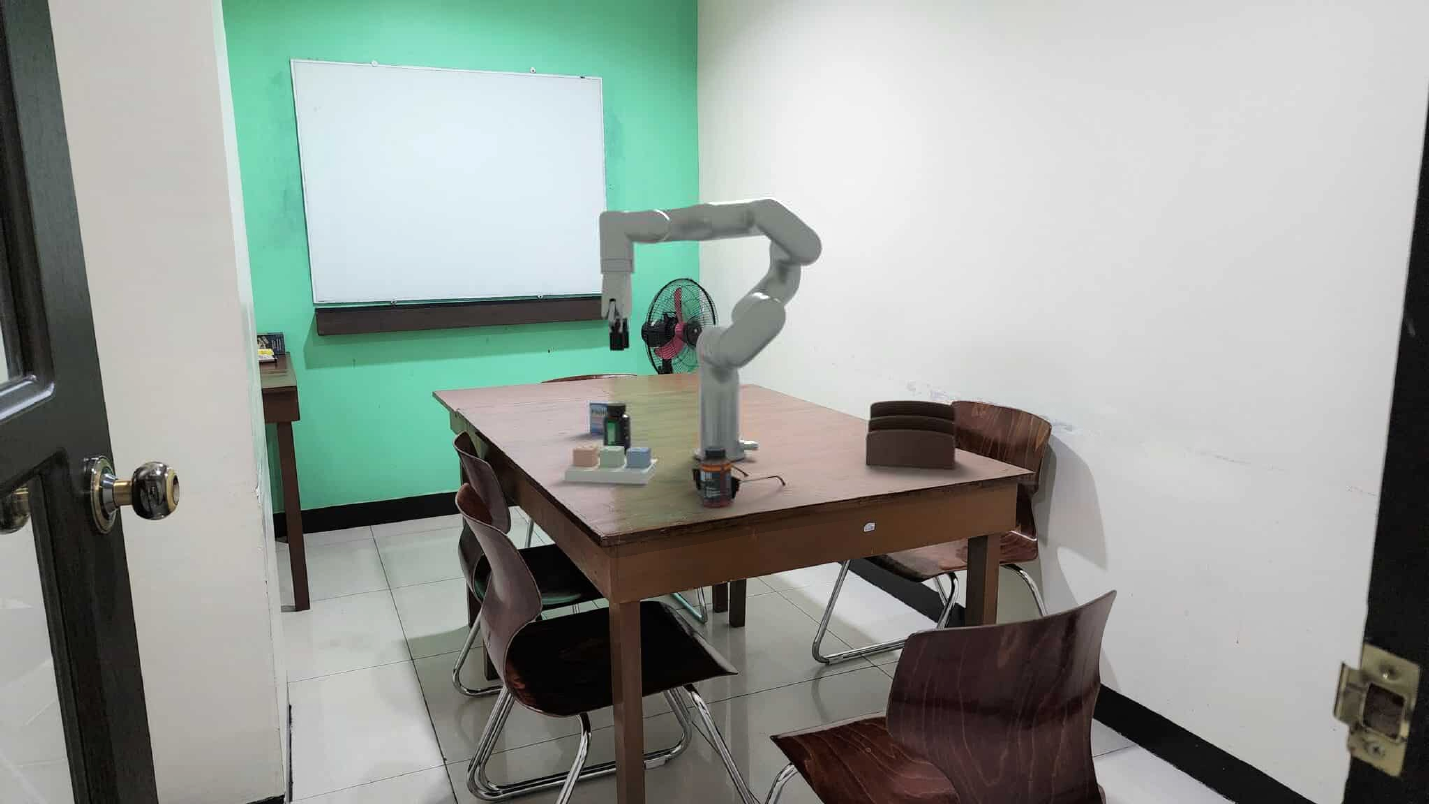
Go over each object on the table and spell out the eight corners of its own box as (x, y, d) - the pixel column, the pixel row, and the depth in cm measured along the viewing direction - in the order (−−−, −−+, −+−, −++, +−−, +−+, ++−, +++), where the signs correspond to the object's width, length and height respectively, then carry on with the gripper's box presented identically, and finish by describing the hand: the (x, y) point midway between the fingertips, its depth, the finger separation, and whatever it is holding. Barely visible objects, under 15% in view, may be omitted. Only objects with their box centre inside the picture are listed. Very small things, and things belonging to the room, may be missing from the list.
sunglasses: (690, 490, 180) (691, 467, 180) (742, 480, 192) (743, 458, 191) (738, 503, 171) (739, 478, 170) (790, 491, 182) (791, 468, 181)
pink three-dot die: (598, 463, 194) (597, 444, 193) (592, 468, 189) (592, 449, 189) (579, 462, 194) (578, 444, 193) (573, 467, 190) (572, 448, 189)
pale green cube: (624, 463, 193) (624, 445, 192) (619, 468, 188) (619, 449, 188) (605, 463, 193) (604, 445, 193) (599, 468, 189) (599, 449, 188)
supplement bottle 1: (613, 456, 210) (612, 407, 208) (598, 451, 215) (596, 404, 213) (636, 452, 214) (635, 404, 212) (621, 447, 219) (620, 400, 217)
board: (658, 470, 196) (658, 459, 195) (646, 484, 184) (646, 472, 184) (581, 467, 198) (581, 457, 198) (564, 481, 187) (564, 470, 186)
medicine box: (589, 434, 236) (588, 402, 235) (596, 430, 240) (595, 400, 239) (616, 435, 234) (615, 404, 232) (622, 432, 238) (621, 401, 237)
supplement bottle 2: (730, 499, 172) (730, 444, 170) (732, 508, 166) (732, 450, 164) (700, 500, 172) (700, 444, 170) (701, 508, 166) (700, 451, 164)
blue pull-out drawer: (650, 464, 192) (650, 446, 191) (646, 469, 187) (646, 450, 187) (631, 464, 192) (631, 445, 192) (626, 468, 188) (626, 450, 187)
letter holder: (869, 456, 209) (870, 398, 206) (954, 460, 203) (956, 401, 201) (865, 465, 199) (866, 405, 197) (954, 470, 194) (956, 408, 192)
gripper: (611, 266, 201) (613, 345, 204) (590, 268, 185) (593, 353, 188) (642, 266, 200) (644, 345, 203) (624, 268, 184) (626, 353, 187)
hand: (619, 348), depth 195 cm, fingers open, 3 cm apart
